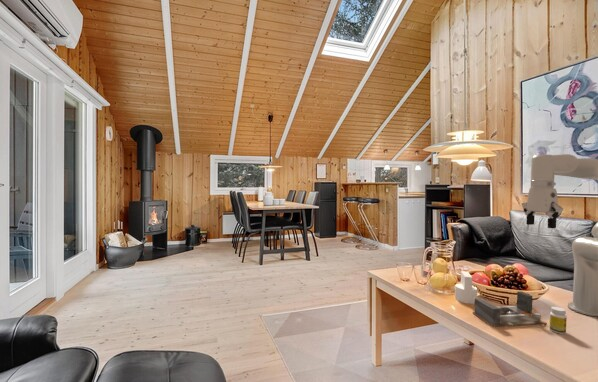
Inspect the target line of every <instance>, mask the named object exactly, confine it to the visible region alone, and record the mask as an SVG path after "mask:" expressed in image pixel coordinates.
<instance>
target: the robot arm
mask: <svg viewBox="0 0 598 382" xmlns="http://www.w3.org/2000/svg"><path fill="white" fill-rule="evenodd" d="M530 166H531V168H530V187H529V191H528V195H527V201H526V202H524V203H523V204H522V205H521V206H522V208H523V212H524V214H525V215H526V220H525V221H526V222H525V224H526V225H527V226H529V225H531V226H532V225H533V226H534V225H535V215H534V214H535V213H543V214H546V215H547V216H548V218H547V228H548V229H557V219H559V217H560V216H561V215H562V213H563V211H564V207H562V206H561V205H559V199H558V198H559V197H558V191H557V188H555V186H556V182H555V176H560V177H561V176H562V177H570V178H577V179H586V180H587V179H588V180H594V181H598V158H592V157H591V158H588V157H587V158H585V157H584V158H583V157H582V158H578V157H576V156H575V155H573V154H570V153H565V154H536V155H533V156H532V157H531V165H530ZM591 235H592V236H580V237H577V238H574V240H573V242H572V244H571V251H572V256H573V265H574V266H573V287H572V288H573V289H572V291H573V292H572V301H571V302H568V304H567V307H568V308H569V309H570V310H571V311H574V312H575V313H579V314H581V315H586V316H590V317H596V318H598V221H597V222H596V223H595V224H594V226H593V227H592V228H591Z"/></svg>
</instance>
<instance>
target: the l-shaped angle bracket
mask: <svg viewBox="0 0 598 382" xmlns="http://www.w3.org/2000/svg"><path fill="white" fill-rule="evenodd" d="M516 295H517V296H516V306H517V307H508V308H507V312H506V314H507V315H514V314H526V315H528V316H530V317H531V316H532V315H531V314H533V313H534V312H533V295H531V294H529V293H527V292H524V291H517V293H516Z"/></svg>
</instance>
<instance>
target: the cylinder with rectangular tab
mask: <svg viewBox="0 0 598 382" xmlns="http://www.w3.org/2000/svg"><path fill="white" fill-rule="evenodd" d="M474 286H475V285H473V276H472V275H471V274H470V272H469V271H463V270H461V271H460V283H456V284H455V285H454V287H455V288H454V299H455V300H456V301H458V302H460V303H464V304H469V305H470V304H475V299H478V288H477V287H476V286H475V287H474Z"/></svg>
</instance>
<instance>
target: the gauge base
mask: <svg viewBox="0 0 598 382" xmlns="http://www.w3.org/2000/svg"><path fill="white" fill-rule="evenodd" d="M508 307H517V305H502V306H501V305H500V306H499V305H498V306H496V305H494V304H492V303H491V302H488V301H487V300H485V299H483V298H477V299H475V303H474V310H473V311H472V314H473V315H474V316H476V317H478V319H481V320H483V321H484V322H486V323H487V324H489V325H490V326H492V327H493V328H502V327H503V328H510V327H524V326H525V327H527V326H543V325H547V322H546V321H544V320H542V319H541V318H542V315H541V314H540V313H538V312H537V313H534V312H532V313H533V314H531V315H532V316H531V317H530V316H528V315H526V314H514V315H507V314H506V312H507V308H508Z"/></svg>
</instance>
